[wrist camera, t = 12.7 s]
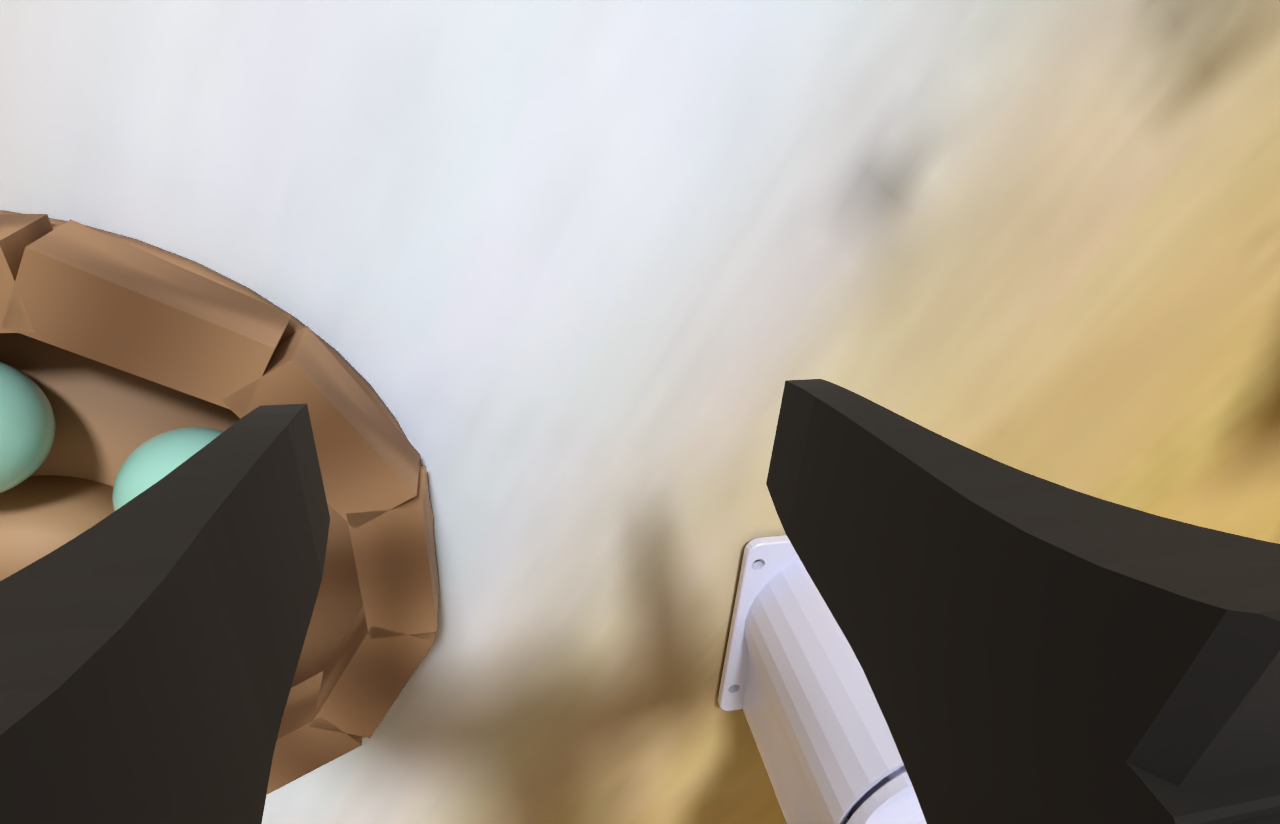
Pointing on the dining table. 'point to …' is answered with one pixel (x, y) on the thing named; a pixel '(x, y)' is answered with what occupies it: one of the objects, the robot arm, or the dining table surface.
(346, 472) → the ring tray
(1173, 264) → the dining table surface
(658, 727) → the dining table surface
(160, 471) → the bead
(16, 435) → the bead
